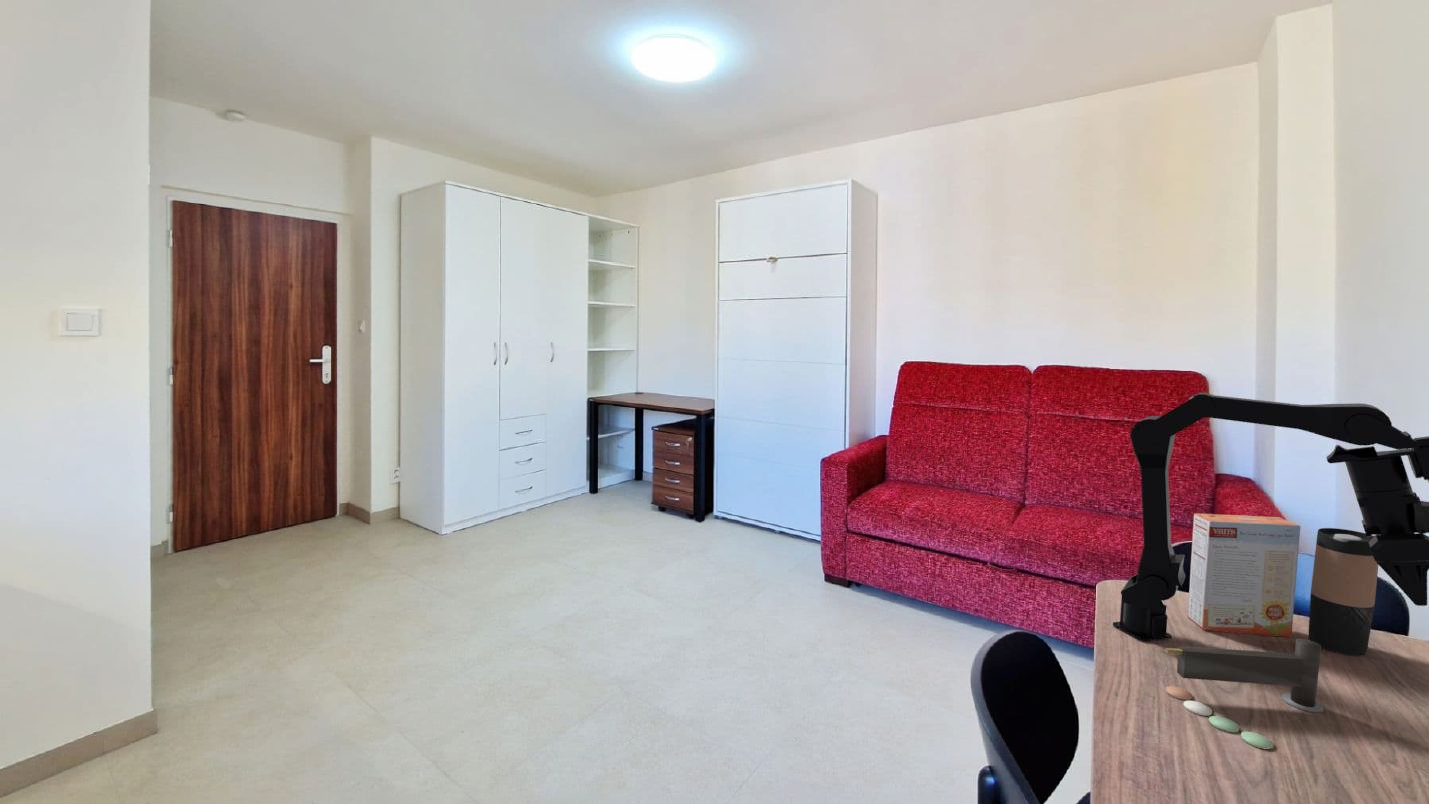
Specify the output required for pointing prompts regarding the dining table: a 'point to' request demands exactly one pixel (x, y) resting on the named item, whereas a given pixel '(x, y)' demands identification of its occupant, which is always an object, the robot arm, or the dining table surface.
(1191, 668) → the hammer
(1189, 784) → the dining table surface
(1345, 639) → the travel mug
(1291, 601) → the cracker box
